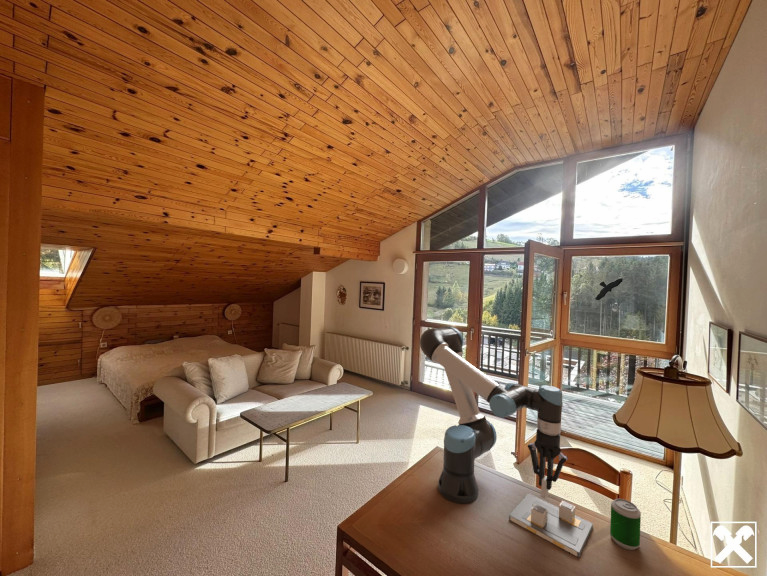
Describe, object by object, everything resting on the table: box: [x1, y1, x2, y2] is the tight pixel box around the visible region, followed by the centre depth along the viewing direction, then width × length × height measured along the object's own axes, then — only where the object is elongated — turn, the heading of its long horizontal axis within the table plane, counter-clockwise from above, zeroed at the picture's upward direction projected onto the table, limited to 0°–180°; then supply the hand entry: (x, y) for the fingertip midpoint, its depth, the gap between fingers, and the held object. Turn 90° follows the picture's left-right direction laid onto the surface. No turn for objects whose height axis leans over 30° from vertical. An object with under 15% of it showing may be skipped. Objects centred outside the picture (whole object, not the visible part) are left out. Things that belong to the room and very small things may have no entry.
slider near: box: [531, 504, 548, 527], centre depth 107 cm, size 4×4×4 cm
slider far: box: [558, 500, 576, 523], centre depth 109 cm, size 4×4×4 cm
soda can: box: [609, 498, 642, 551], centre depth 101 cm, size 8×8×12 cm
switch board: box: [508, 492, 594, 558], centre depth 108 cm, size 21×17×2 cm
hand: (544, 496), depth 114 cm, fingers closed
